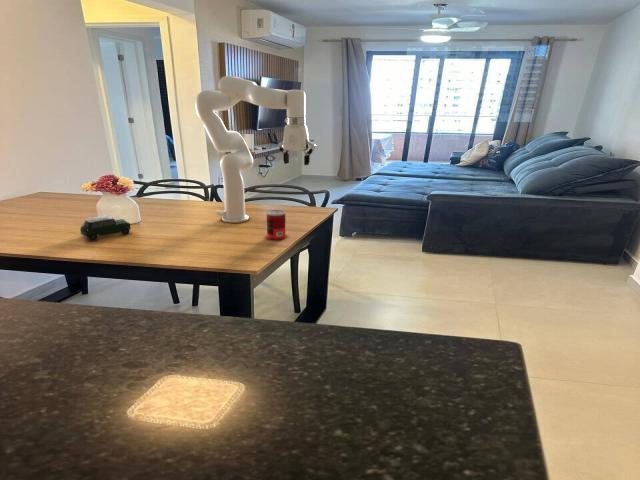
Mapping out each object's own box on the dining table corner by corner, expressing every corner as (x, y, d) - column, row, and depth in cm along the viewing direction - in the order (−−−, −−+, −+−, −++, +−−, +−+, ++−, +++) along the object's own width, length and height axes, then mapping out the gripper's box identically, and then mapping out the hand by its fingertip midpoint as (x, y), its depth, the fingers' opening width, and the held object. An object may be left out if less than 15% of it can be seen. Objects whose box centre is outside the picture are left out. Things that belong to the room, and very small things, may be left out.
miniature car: (133, 233, 161) (131, 215, 158) (85, 242, 149) (82, 222, 146) (126, 228, 167) (123, 210, 164) (79, 237, 155) (75, 218, 152)
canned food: (288, 235, 163) (288, 210, 160) (280, 241, 156) (280, 215, 153) (272, 233, 166) (271, 208, 162) (263, 238, 159) (263, 213, 155)
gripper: (273, 121, 157) (274, 163, 162) (311, 122, 150) (310, 166, 156) (282, 121, 163) (283, 161, 169) (318, 122, 157) (318, 164, 162)
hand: (296, 164), depth 162 cm, fingers open, 9 cm apart
